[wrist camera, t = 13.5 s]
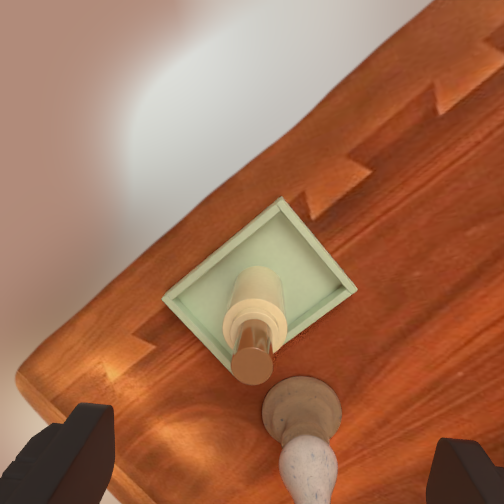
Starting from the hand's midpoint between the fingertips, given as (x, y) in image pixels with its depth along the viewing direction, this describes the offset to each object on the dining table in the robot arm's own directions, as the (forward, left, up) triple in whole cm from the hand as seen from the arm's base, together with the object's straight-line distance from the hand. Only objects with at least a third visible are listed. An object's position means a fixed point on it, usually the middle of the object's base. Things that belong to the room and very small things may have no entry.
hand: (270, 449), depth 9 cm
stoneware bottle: (+7, -1, -29) cm, 30 cm away
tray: (+7, -1, -30) cm, 30 cm away
